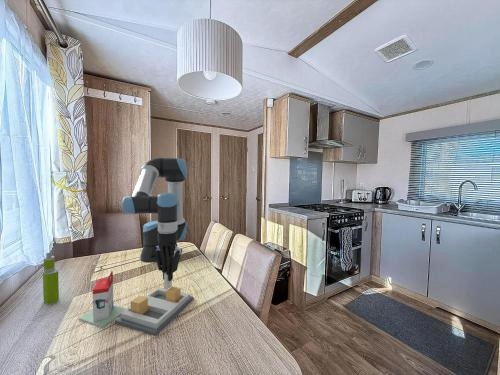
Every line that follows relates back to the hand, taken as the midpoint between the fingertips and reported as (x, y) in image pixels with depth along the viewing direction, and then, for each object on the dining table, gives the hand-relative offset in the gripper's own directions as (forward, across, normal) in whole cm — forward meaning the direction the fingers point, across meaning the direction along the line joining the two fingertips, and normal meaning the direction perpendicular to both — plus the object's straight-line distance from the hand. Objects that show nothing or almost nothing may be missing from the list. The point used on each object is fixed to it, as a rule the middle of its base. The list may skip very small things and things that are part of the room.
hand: (167, 287), depth 86 cm
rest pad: (+7, -17, -14) cm, 23 cm away
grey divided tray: (+7, 0, -5) cm, 8 cm away
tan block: (+5, +3, 0) cm, 6 cm away
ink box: (+6, -17, -14) cm, 23 cm away
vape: (+7, -46, -15) cm, 49 cm away
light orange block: (+5, -4, -10) cm, 12 cm away
